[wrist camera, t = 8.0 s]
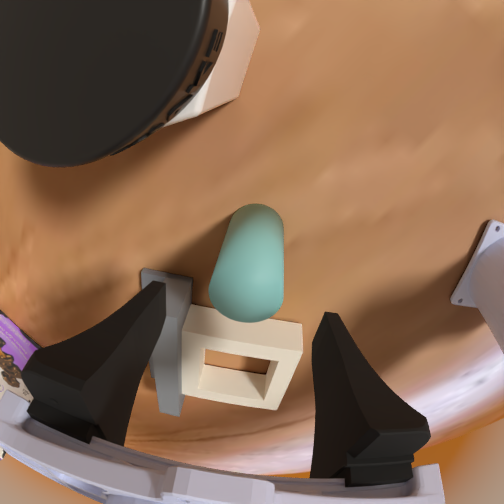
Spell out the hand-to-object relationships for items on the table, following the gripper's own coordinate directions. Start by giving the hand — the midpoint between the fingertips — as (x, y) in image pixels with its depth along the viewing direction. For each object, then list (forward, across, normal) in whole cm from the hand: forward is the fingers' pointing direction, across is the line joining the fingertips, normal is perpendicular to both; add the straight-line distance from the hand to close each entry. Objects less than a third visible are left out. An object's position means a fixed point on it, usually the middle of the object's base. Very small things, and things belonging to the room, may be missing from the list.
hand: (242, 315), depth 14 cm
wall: (+8, +6, +12) cm, 16 cm away
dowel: (+8, 0, 0) cm, 8 cm away
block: (+8, 0, +12) cm, 15 cm away
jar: (+9, +6, -11) cm, 15 cm away
